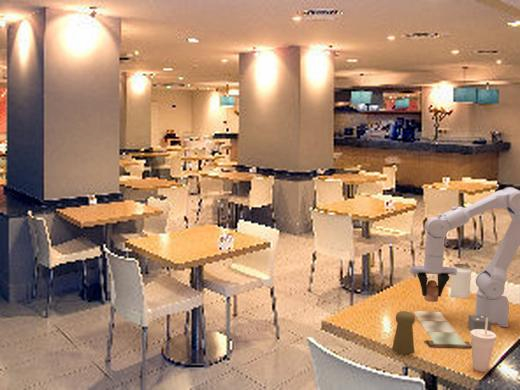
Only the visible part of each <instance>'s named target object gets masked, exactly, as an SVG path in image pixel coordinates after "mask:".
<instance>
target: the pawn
mask: <svg viewBox="0 0 520 390" xmlns="http://www.w3.org/2000/svg"><path fill="white" fill-rule="evenodd" d="M438 292H439V286H438V282H437V281H436V280H433V279H431V280H429V281H427V285H426V296H423V297H424V301H427V302H431V303H435V302H438V301H439V296H438Z"/></svg>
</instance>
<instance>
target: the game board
mask: <svg viewBox="0 0 520 390" xmlns="http://www.w3.org/2000/svg"><path fill="white" fill-rule="evenodd" d="M413 315H414V316H416V317H415V318H417V319H418V321H419V323H420V324H421V325H422V327H423V328H424V330H425V332H427V335H428V336H429V338H430V339H431V340H427V339H426V340H425V343H426V345H428V347H429V348H442V349H443V348H444V349H445V348H446V349H447V348H448V349H468V348H472V343H470V341H464V340H463V338H462V337H461V336H460V335H459V334H458V333H457V331H456V330H455V328H454V327H453V326H452V325H451V324H450V322H449V321H448V320H447V319H446V317H445V316H444V315H443V313H442V312H441V311H429V310H428V311H426V310H425V311H424V310H423V311H421V310H413ZM468 350H469V349H468Z"/></svg>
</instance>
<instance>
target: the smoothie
mask: <svg viewBox="0 0 520 390" xmlns="http://www.w3.org/2000/svg"><path fill="white" fill-rule="evenodd" d="M487 326H488V318H486V323H485V330H483V329H474V330H472V331H471V330H470V334H469V336H470V338H471V345H472V349H471V355H472V356H471V358H472V368H473V370H475V371H478V372H481V373H484V372H485V373H486V372H488V371H489V367H490V363H491V359H492V354H493V351H494V346H495V341H496V340H497V335H496V333H495V332H493V331H492V330H491V331H488V330H487Z"/></svg>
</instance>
